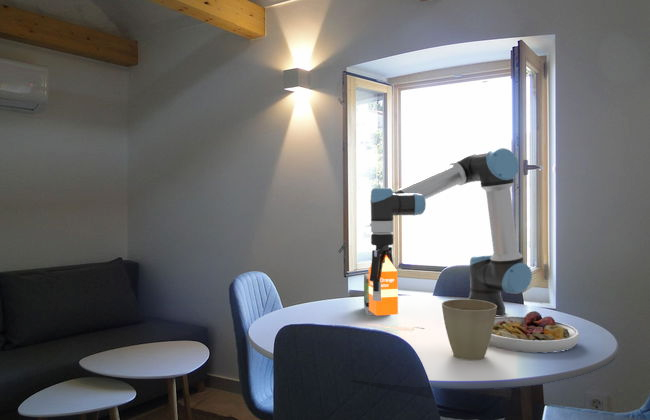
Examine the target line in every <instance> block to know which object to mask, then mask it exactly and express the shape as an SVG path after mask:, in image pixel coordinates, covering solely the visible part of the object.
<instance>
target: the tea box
mask: <svg viewBox="0 0 650 420" xmlns="http://www.w3.org/2000/svg"><path fill="white" fill-rule="evenodd" d="M363 307H364V308H363V309H364V311H365V315H366V316H376V315H375V314H374V313H372V312H371V311H370V310H369V273H364V274H363Z"/></svg>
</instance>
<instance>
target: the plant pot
mask: <svg viewBox="0 0 650 420" xmlns="http://www.w3.org/2000/svg"><path fill="white" fill-rule="evenodd" d="M441 309H442V314H443V315H442V316H443V321H444V325H445V330H446V336H447V338H448V341H449V345H450V347H451V350H452V351H451V352H452V353H453V356H454V357H455V358H457V359H461V360H466V361H480V360H483V359H484V358H485V356H486V354H487V351H488V348H489V346H490V345H489V342H490V339H491V335H492V331H493V327H494V322H495V318H496V317H497V316H496V310H497V306H496V305H495V304H493V303H491V302H487V301H482V300H472V299H469V298H465V299H464V298H460V299H448V300H444V301H443V302H441Z"/></svg>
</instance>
